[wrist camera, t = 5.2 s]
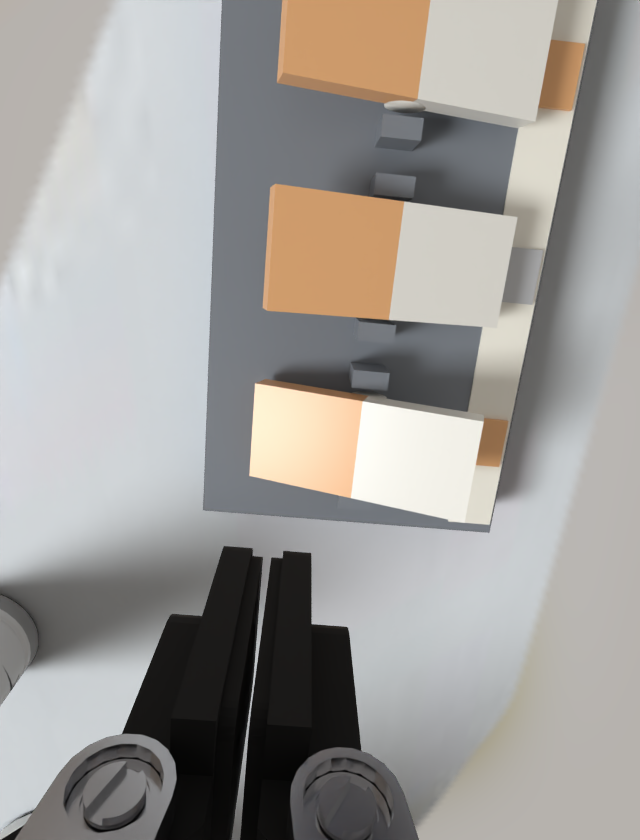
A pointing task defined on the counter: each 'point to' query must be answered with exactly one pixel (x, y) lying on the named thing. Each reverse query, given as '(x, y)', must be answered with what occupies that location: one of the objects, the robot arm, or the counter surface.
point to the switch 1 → (422, 54)
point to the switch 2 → (384, 258)
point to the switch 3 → (365, 447)
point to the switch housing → (381, 178)
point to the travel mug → (15, 644)
